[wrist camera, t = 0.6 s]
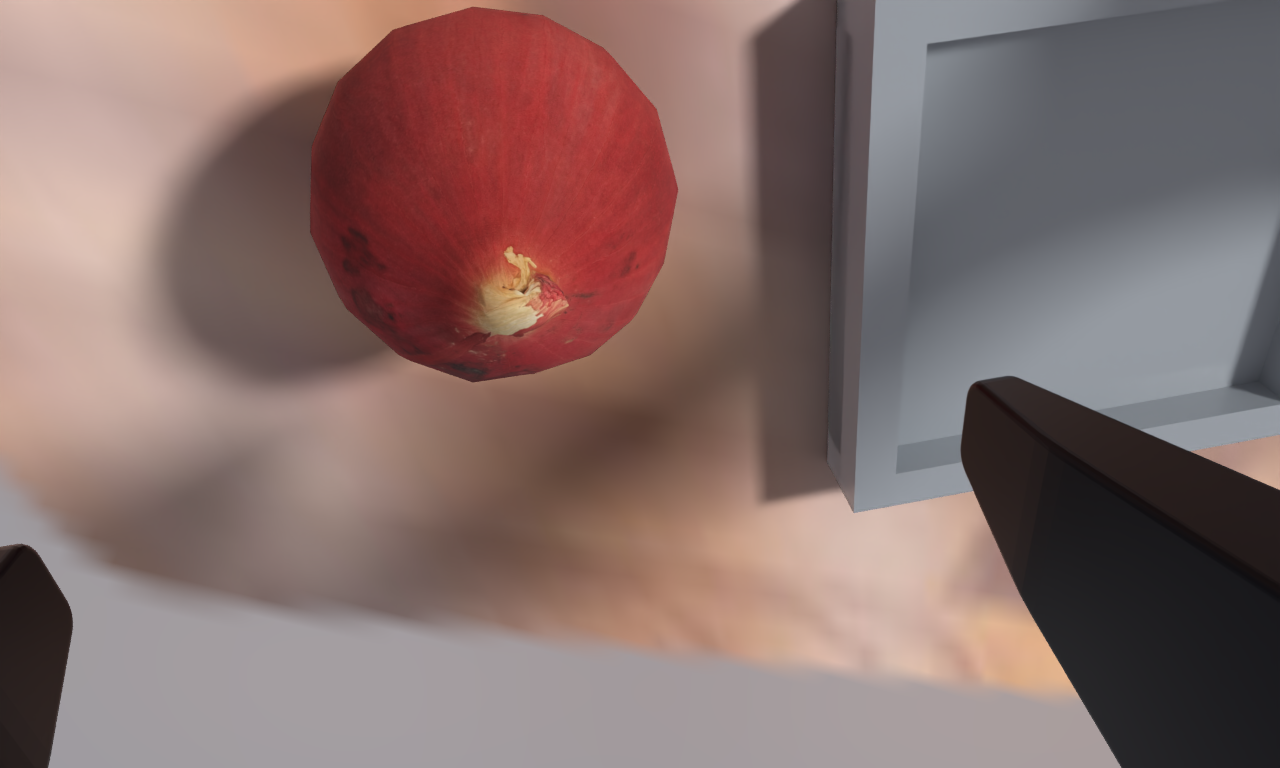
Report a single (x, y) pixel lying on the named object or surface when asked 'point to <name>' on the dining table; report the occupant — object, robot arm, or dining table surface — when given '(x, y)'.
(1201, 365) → the dish
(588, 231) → the onion
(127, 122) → the dining table surface
